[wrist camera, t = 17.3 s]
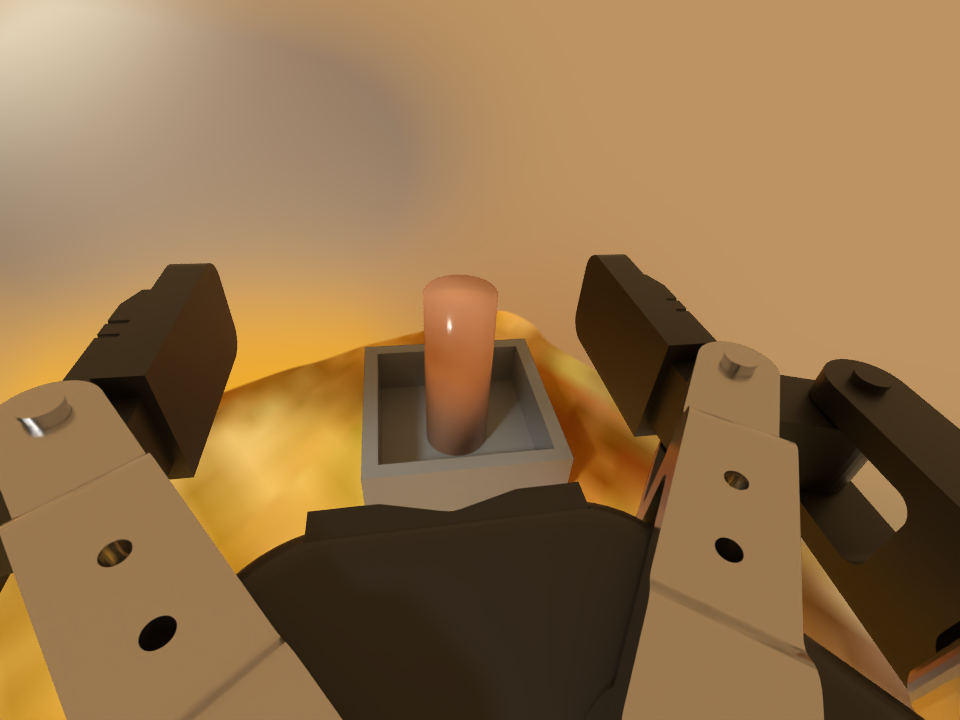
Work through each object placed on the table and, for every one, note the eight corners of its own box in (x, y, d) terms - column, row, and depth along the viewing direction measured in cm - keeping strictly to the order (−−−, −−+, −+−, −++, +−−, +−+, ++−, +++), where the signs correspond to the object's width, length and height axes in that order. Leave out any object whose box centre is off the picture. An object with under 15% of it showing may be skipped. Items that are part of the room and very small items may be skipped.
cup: (428, 458, 43) (426, 313, 33) (424, 414, 47) (420, 275, 38) (491, 452, 43) (504, 310, 34) (480, 409, 48) (490, 273, 39)
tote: (367, 519, 38) (361, 479, 35) (369, 385, 51) (365, 347, 47) (563, 497, 41) (573, 458, 38) (519, 375, 53) (524, 338, 50)
